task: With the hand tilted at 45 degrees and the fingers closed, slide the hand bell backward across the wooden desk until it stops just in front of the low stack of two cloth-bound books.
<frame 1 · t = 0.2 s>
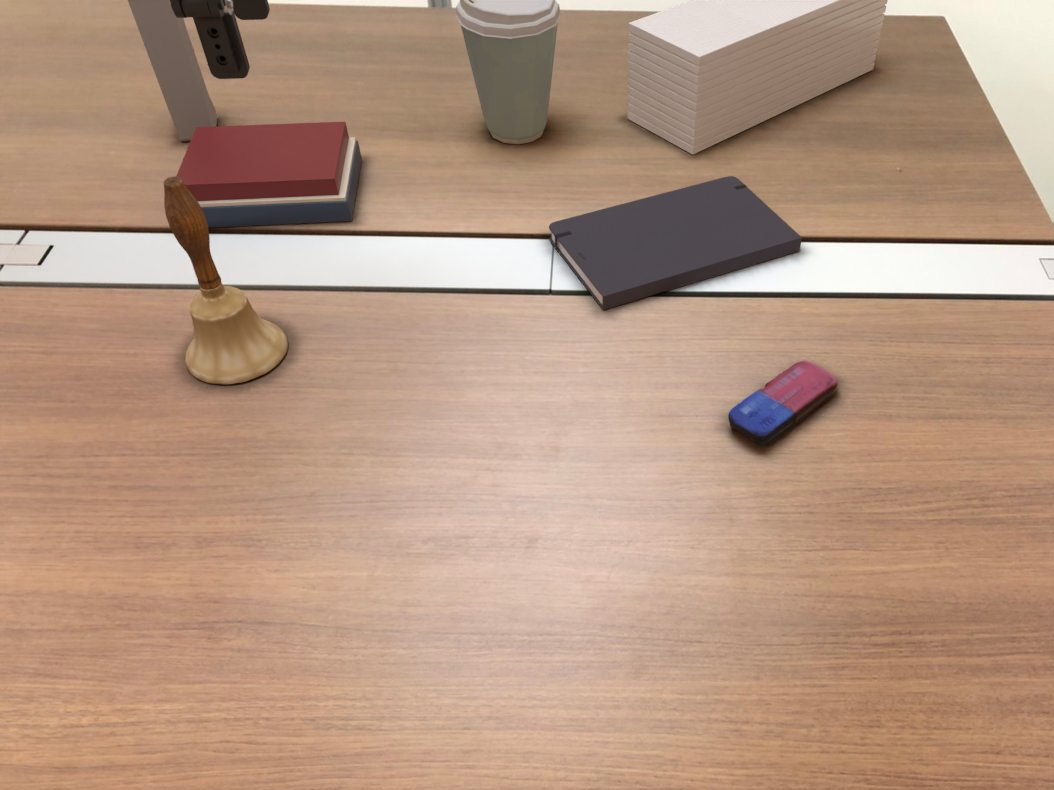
hand: (243, 45, 60), 26 cm above the table, tool pointing down, fingers open, 8 cm apart
tall grey plank: (200, 131, 104), on the table
hand bell: (238, 354, 79), on the table
book stack: (277, 192, 95), on the table
notebook: (672, 246, 91), on the table
stack of papers: (755, 95, 112), on the table
disposable coffee cup: (518, 133, 105), on the table
eraser: (783, 412, 76), on the table
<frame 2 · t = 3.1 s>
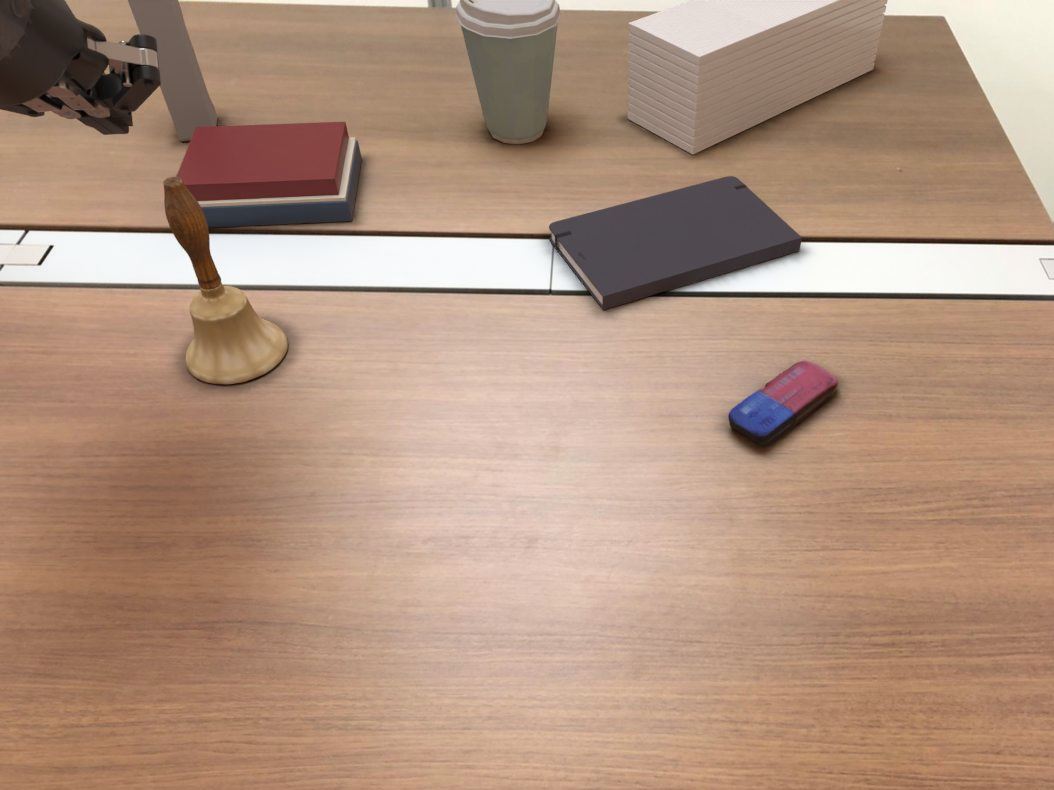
hand: (115, 119, 60), 22 cm above the table, tool tilted 45°, fingers closed
nothing on the table moved.
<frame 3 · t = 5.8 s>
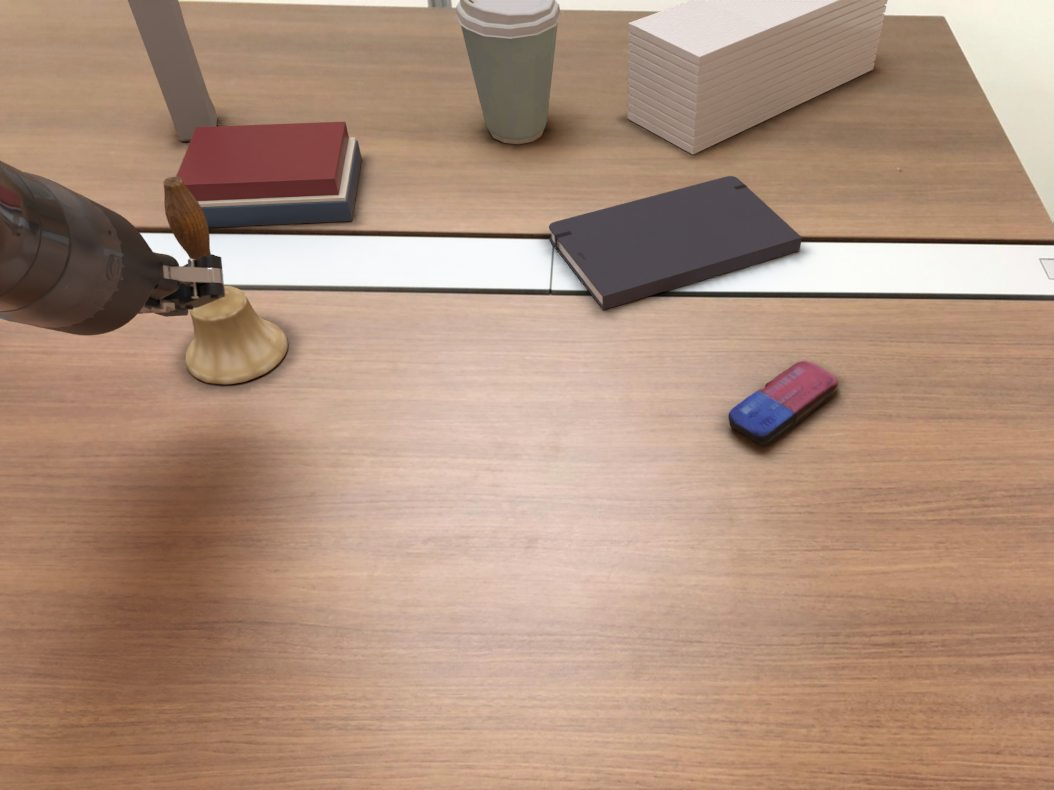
hand: (176, 301, 66), 11 cm above the table, tool tilted 45°, fingers closed
nothing on the table moved.
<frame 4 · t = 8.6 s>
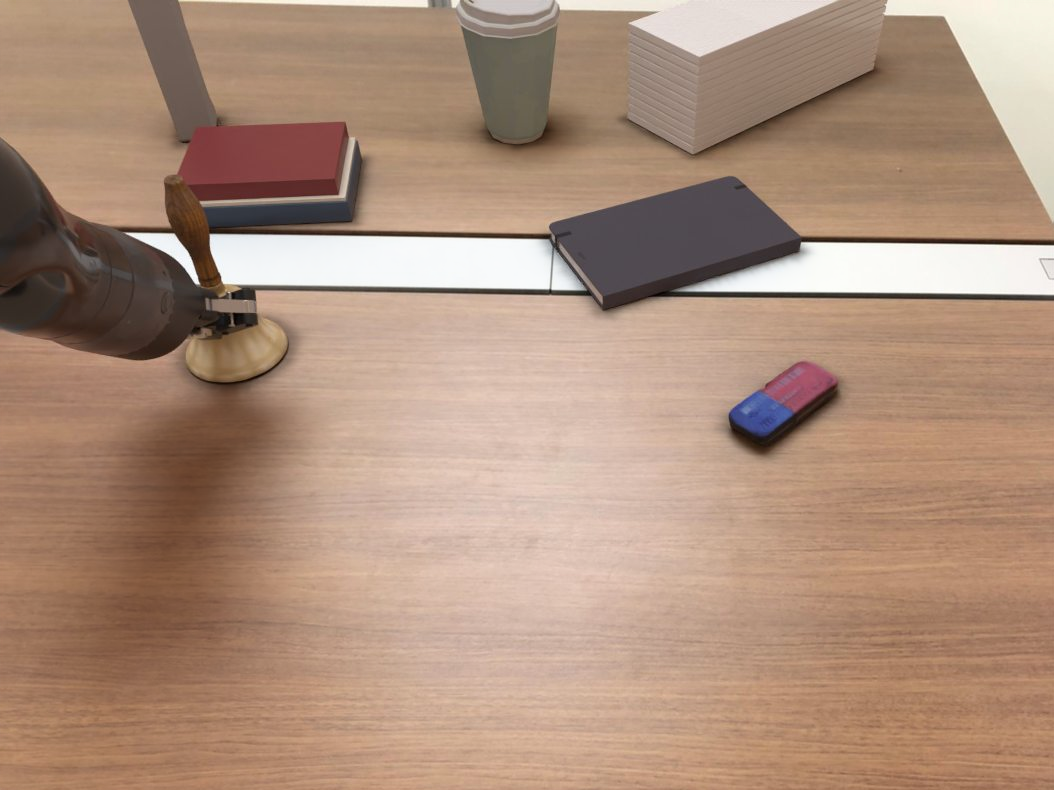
hand: (211, 326, 74), 5 cm above the table, tool tilted 45°, fingers closed
hand bell: (238, 352, 79), on the table, touching gripper
everything else where it was.
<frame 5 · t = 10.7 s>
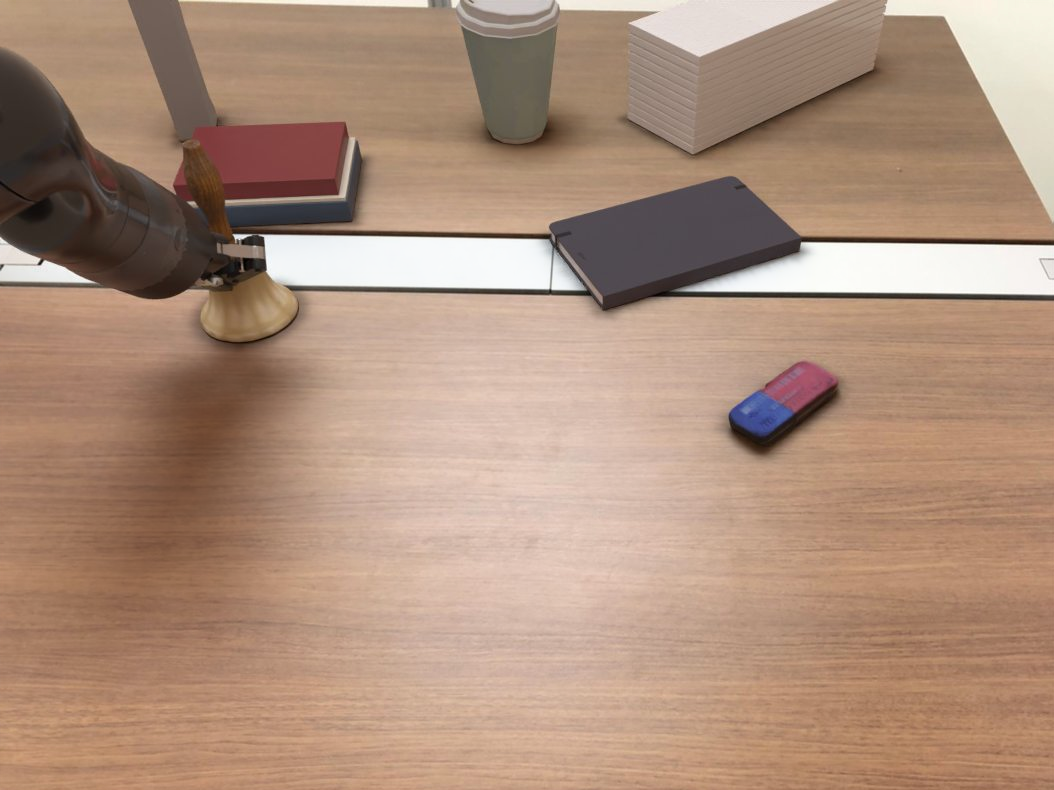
hand: (223, 278, 77), 5 cm above the table, tool tilted 45°, fingers closed
hand bell: (250, 314, 83), on the table, touching gripper
everything else where it was.
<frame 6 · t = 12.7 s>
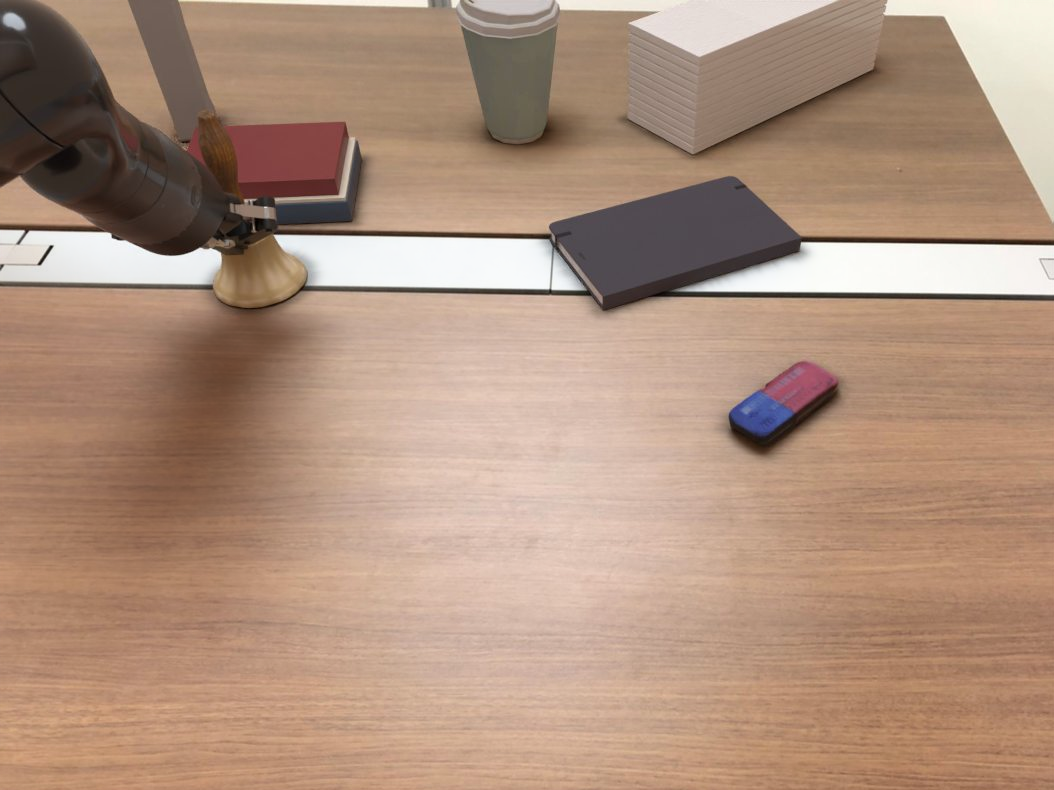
hand: (234, 243, 80), 5 cm above the table, tool tilted 45°, fingers closed
hand bell: (261, 282, 86), on the table, touching gripper
everything else where it was.
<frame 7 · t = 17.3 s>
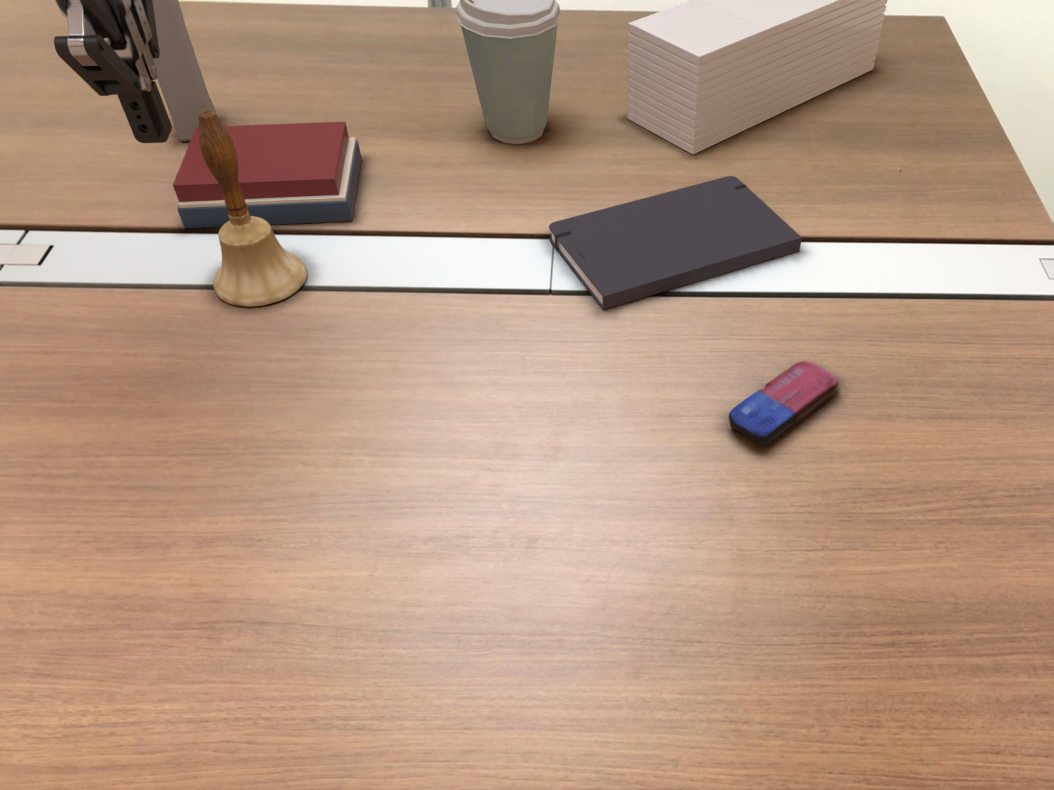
hand: (155, 137, 65), 19 cm above the table, tool pointing down, fingers closed
hand bell: (262, 281, 86), on the table
everything else where it was.
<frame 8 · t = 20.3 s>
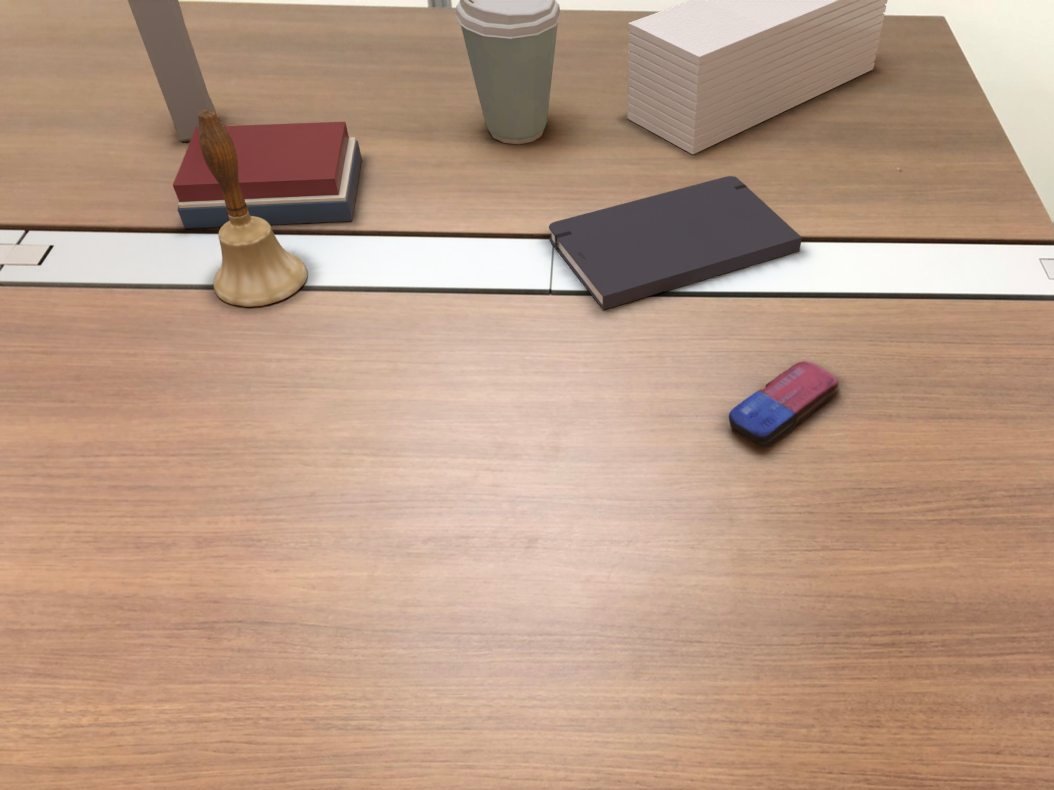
nothing on the table moved.
at the end: hand bell inside the target area on the table beside the book stack (2.4 cm from its centre), on the table; hand bell moved 10.2 cm from its start; hand bell tilted 0° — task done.
